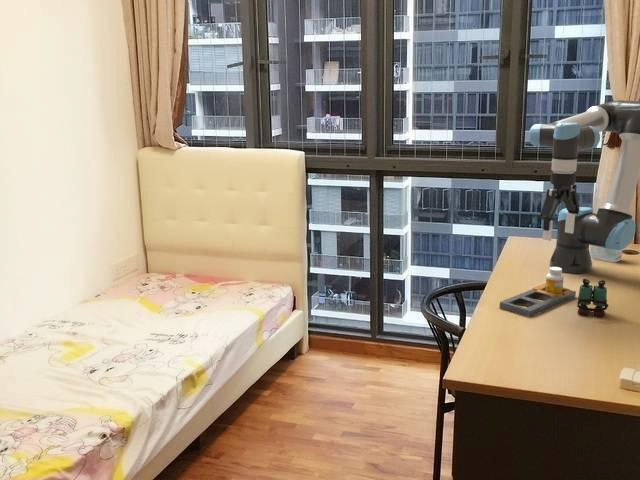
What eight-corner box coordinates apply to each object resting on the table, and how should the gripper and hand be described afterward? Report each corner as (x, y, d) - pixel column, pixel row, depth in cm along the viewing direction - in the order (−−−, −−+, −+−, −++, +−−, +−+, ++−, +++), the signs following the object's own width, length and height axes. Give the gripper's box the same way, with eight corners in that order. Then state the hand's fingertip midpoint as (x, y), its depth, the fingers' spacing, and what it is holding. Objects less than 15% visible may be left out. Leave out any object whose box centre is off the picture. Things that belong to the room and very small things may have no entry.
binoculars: (579, 288, 202) (578, 275, 211) (576, 320, 206) (575, 306, 215) (611, 291, 199) (609, 278, 208) (607, 323, 203) (606, 309, 212)
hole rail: (545, 289, 231) (546, 282, 231) (575, 297, 223) (576, 290, 223) (499, 307, 214) (499, 300, 214) (529, 317, 206) (530, 310, 206)
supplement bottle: (542, 293, 227) (544, 266, 225) (557, 293, 227) (560, 265, 225) (548, 299, 222) (551, 271, 219) (564, 298, 222) (567, 270, 220)
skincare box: (588, 257, 268) (591, 232, 265) (596, 254, 272) (598, 229, 270) (614, 263, 261) (617, 237, 258) (621, 259, 265) (624, 234, 262)
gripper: (572, 166, 225) (567, 227, 230) (531, 175, 209) (526, 240, 214) (594, 168, 219) (588, 231, 225) (553, 177, 203) (547, 245, 209)
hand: (558, 236), depth 219 cm, fingers open, 13 cm apart
